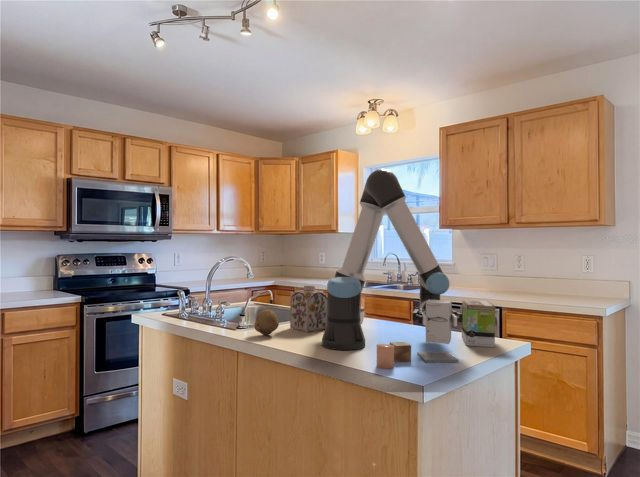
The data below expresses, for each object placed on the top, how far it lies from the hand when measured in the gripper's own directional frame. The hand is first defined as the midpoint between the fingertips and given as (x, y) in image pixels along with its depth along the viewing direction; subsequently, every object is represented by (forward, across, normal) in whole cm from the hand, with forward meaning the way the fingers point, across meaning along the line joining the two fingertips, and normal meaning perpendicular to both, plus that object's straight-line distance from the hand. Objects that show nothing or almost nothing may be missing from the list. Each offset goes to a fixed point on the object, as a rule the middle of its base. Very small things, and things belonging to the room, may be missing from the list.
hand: (440, 321), depth 135 cm
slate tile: (-5, 0, -12) cm, 13 cm away
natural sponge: (-27, +61, -12) cm, 68 cm away
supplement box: (-5, 0, -7) cm, 9 cm away
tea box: (-32, -17, -13) cm, 39 cm away
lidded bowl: (-49, +32, -12) cm, 60 cm away
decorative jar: (-45, +48, -12) cm, 67 cm away
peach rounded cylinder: (+8, +16, -12) cm, 22 cm away
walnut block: (-1, +12, -12) cm, 17 cm away
